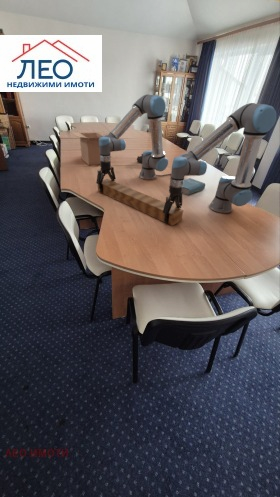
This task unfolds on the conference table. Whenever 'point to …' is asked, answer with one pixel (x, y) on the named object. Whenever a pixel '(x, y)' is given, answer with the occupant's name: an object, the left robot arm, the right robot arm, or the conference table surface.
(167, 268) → the conference table surface
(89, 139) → the box
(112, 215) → the conference table surface
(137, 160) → the laser sight
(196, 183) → the book
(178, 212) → the long wooden beam
